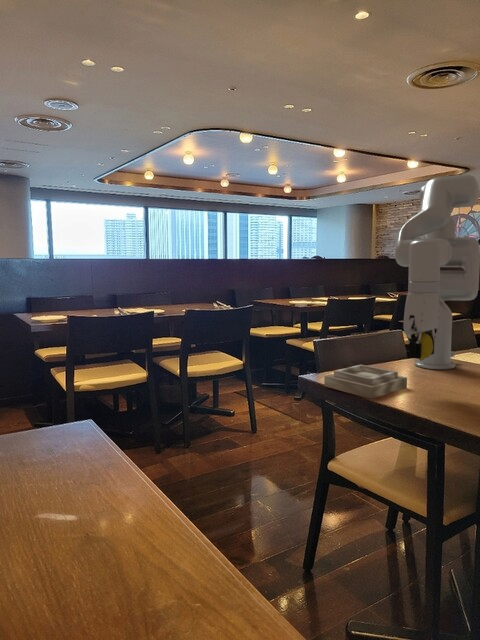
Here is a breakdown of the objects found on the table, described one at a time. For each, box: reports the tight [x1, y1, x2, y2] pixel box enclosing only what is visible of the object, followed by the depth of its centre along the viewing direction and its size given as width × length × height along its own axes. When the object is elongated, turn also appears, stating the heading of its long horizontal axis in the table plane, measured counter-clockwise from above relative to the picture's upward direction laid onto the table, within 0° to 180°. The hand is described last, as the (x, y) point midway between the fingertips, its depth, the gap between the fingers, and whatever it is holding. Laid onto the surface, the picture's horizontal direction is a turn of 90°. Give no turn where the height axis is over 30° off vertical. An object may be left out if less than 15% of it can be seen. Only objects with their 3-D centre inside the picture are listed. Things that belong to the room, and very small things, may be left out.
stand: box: [323, 364, 408, 400], centre depth 129 cm, size 16×16×4 cm
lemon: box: [414, 332, 433, 361], centre depth 122 cm, size 6×6×8 cm
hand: (421, 355), depth 122 cm, fingers closed on lemon, 5 cm apart
